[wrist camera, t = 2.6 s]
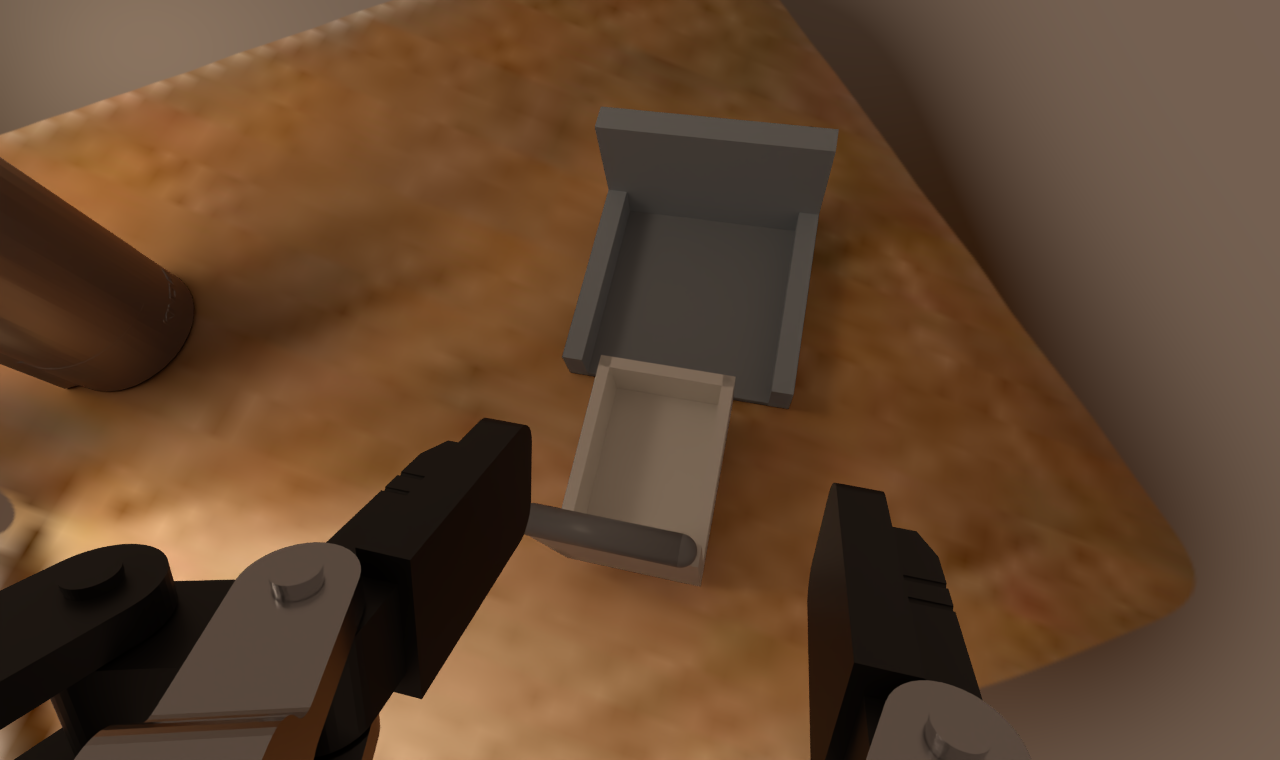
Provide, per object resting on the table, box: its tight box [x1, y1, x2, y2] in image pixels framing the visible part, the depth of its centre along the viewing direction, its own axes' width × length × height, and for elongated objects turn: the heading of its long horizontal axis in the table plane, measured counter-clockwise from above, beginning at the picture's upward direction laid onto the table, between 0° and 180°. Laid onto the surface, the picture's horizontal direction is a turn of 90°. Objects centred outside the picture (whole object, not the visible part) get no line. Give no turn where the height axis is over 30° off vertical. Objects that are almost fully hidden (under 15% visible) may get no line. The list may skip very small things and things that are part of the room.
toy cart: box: [524, 355, 736, 587], centre depth 30 cm, size 7×10×13 cm
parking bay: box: [562, 107, 838, 409], centre depth 38 cm, size 13×14×8 cm
